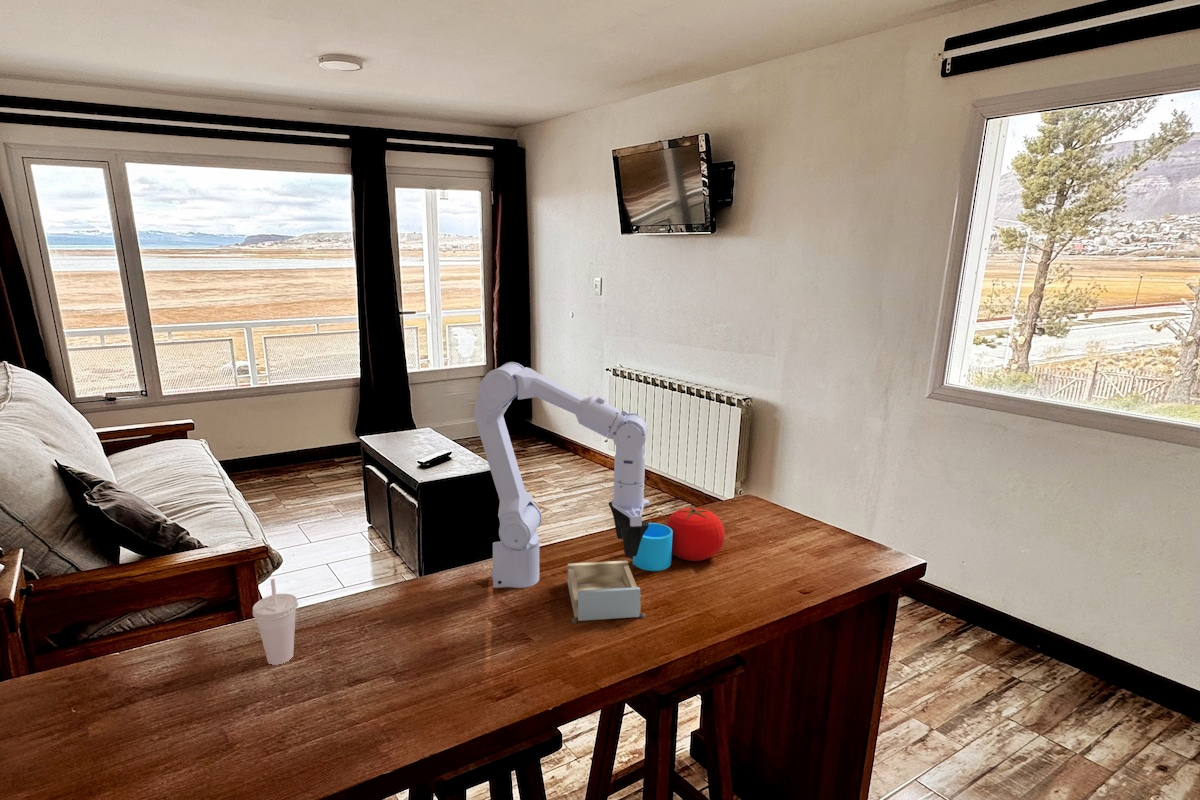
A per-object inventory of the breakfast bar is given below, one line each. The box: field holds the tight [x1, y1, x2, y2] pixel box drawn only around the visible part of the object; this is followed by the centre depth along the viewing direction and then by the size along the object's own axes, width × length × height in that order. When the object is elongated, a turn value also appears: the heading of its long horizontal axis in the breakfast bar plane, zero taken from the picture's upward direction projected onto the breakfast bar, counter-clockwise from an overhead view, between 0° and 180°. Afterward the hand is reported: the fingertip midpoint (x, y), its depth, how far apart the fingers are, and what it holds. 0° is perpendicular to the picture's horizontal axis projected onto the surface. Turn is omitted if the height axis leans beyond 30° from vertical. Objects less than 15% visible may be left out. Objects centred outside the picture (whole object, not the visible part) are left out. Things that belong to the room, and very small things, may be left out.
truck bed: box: [566, 560, 646, 624], centre depth 119 cm, size 13×15×5 cm
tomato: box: [665, 505, 726, 562], centre depth 139 cm, size 12×13×11 cm
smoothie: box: [252, 578, 299, 666], centre depth 100 cm, size 6×6×14 cm
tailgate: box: [577, 586, 641, 622], centre depth 112 cm, size 11×1×5 cm, turn 99°
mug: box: [632, 522, 673, 572], centre depth 136 cm, size 12×8×8 cm
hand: (626, 546), depth 122 cm, fingers open, 7 cm apart
